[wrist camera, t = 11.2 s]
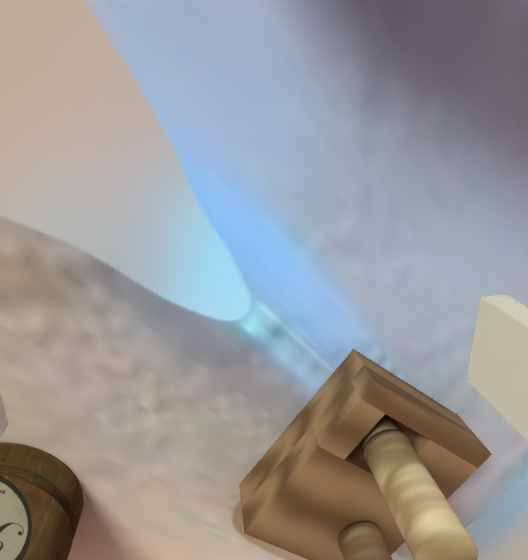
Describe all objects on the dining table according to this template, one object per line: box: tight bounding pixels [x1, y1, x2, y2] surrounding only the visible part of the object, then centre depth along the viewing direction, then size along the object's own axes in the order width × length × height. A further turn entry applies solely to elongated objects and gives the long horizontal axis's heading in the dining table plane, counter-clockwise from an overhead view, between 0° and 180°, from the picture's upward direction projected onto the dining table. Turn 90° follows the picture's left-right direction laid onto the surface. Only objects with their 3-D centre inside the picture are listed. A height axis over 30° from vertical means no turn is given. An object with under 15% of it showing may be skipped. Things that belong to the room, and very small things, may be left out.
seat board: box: [239, 349, 491, 560], centre depth 40 cm, size 20×16×17 cm
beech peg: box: [359, 414, 478, 560], centre depth 37 cm, size 5×5×14 cm
